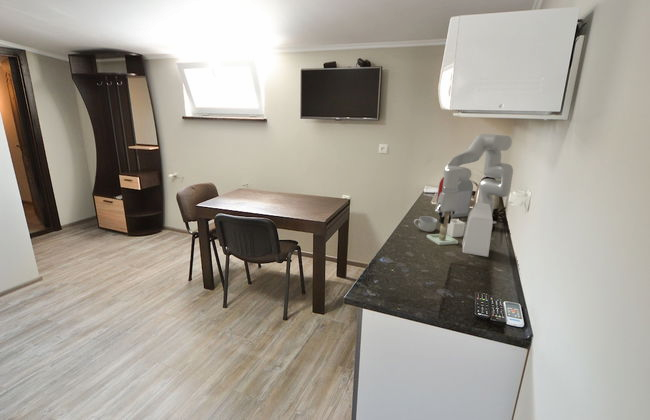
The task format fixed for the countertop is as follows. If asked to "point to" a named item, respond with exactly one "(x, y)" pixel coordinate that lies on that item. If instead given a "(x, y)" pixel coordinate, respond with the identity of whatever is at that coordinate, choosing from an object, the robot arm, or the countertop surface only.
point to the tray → (442, 242)
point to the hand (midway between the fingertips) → (444, 222)
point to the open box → (455, 228)
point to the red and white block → (460, 197)
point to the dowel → (444, 227)
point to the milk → (478, 230)
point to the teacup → (426, 223)
